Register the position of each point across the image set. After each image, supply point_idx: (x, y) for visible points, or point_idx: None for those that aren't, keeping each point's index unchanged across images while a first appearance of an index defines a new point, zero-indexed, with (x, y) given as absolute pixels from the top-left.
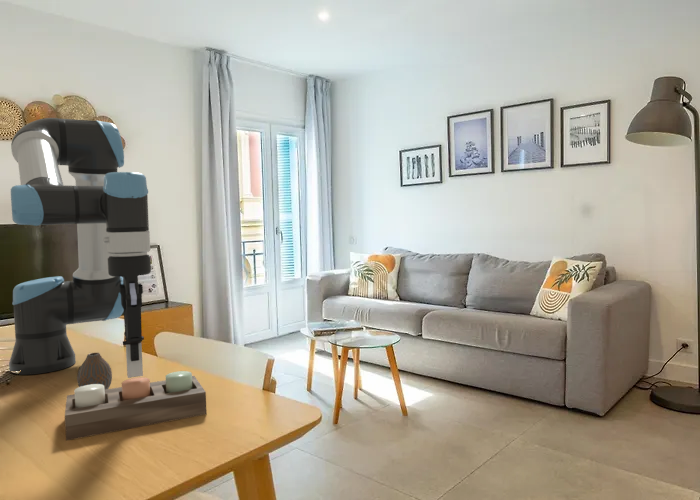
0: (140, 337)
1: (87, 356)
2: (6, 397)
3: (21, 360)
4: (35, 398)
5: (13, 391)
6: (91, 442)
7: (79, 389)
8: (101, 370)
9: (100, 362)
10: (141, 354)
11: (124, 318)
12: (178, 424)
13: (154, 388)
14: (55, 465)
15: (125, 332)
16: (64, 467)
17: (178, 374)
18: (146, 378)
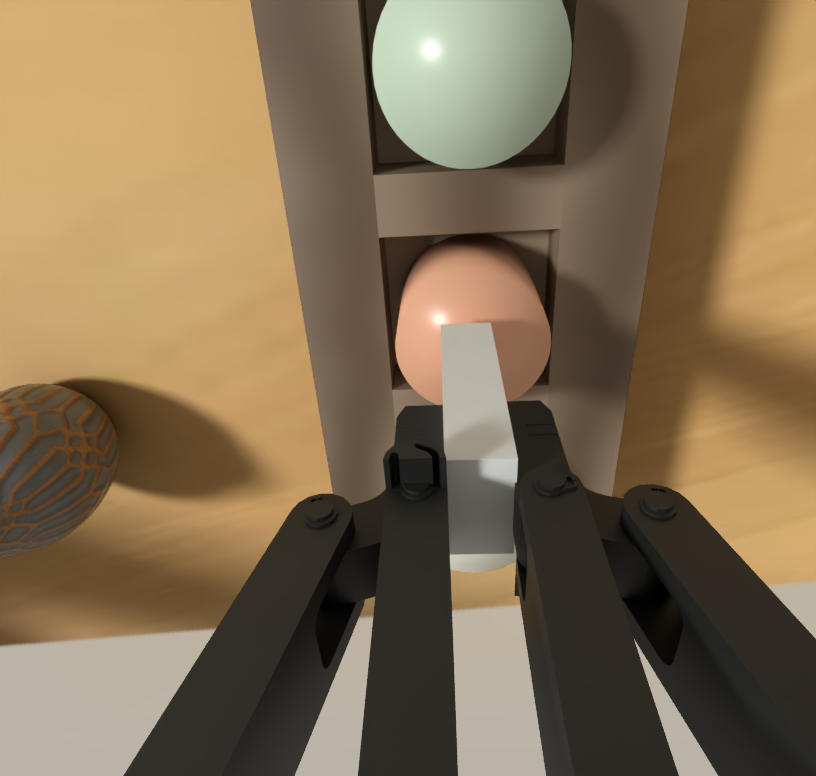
0: (703, 528)
1: None
2: (66, 639)
3: None
4: (97, 579)
5: (2, 630)
6: (655, 424)
7: (469, 558)
8: (52, 468)
9: (5, 495)
10: (506, 401)
11: (302, 749)
12: (701, 92)
13: (422, 221)
14: (772, 501)
15: (359, 612)
16: (809, 482)
17: (463, 66)
18: (445, 289)
